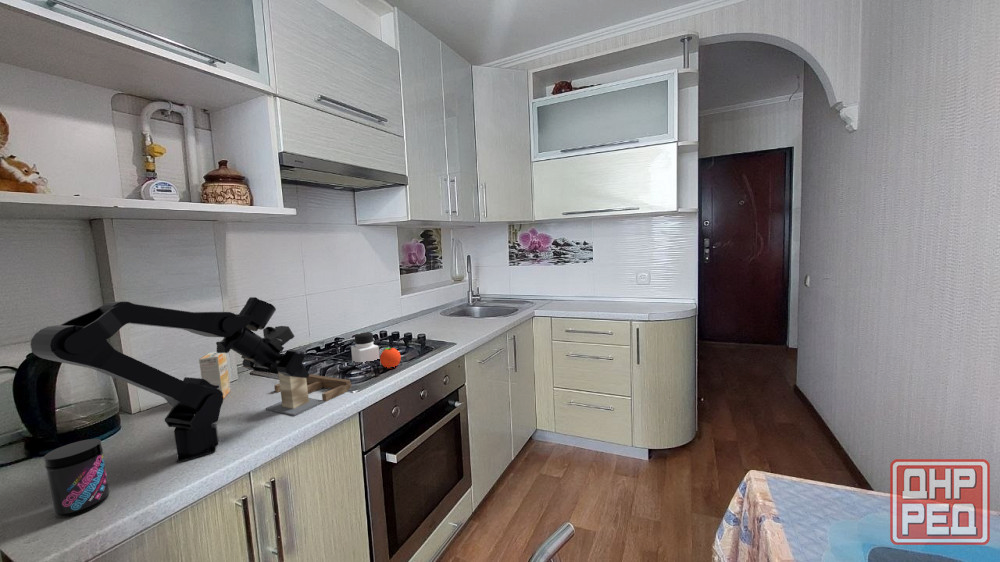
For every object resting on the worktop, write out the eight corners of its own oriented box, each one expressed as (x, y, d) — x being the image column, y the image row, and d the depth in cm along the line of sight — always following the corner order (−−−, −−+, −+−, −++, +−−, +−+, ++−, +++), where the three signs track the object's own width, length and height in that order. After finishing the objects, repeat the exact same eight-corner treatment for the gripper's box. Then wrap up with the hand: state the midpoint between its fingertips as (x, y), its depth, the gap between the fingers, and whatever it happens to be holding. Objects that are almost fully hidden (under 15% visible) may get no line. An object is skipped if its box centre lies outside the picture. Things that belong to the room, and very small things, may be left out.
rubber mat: (295, 415, 100) (294, 414, 100) (265, 409, 105) (265, 407, 105) (324, 402, 108) (324, 400, 108) (296, 396, 113) (296, 395, 113)
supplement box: (224, 400, 114) (218, 356, 113) (204, 403, 112) (198, 359, 111) (231, 390, 122) (226, 349, 120) (213, 393, 120) (207, 352, 119)
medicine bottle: (380, 365, 138) (377, 332, 137) (361, 370, 134) (357, 336, 132) (371, 361, 144) (368, 329, 142) (352, 366, 139) (349, 333, 138)
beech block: (293, 408, 103) (289, 372, 102) (282, 406, 105) (278, 370, 104) (308, 402, 107) (304, 366, 106) (297, 399, 109) (293, 365, 108)
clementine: (375, 368, 135) (373, 348, 134) (392, 363, 140) (390, 343, 140) (388, 372, 130) (386, 351, 129) (405, 366, 135) (404, 346, 134)
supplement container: (50, 525, 63) (38, 464, 62) (58, 506, 68) (47, 449, 67) (109, 505, 67) (99, 448, 66) (112, 488, 72) (103, 434, 71)
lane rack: (326, 401, 108) (325, 390, 108) (275, 391, 118) (273, 382, 118) (351, 389, 116) (350, 379, 116) (301, 381, 126) (300, 372, 126)
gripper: (294, 319, 96) (335, 351, 107) (248, 317, 105) (291, 346, 115) (266, 360, 90) (313, 389, 101) (220, 354, 98) (268, 381, 109)
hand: (296, 374), depth 107 cm, fingers open, 9 cm apart
